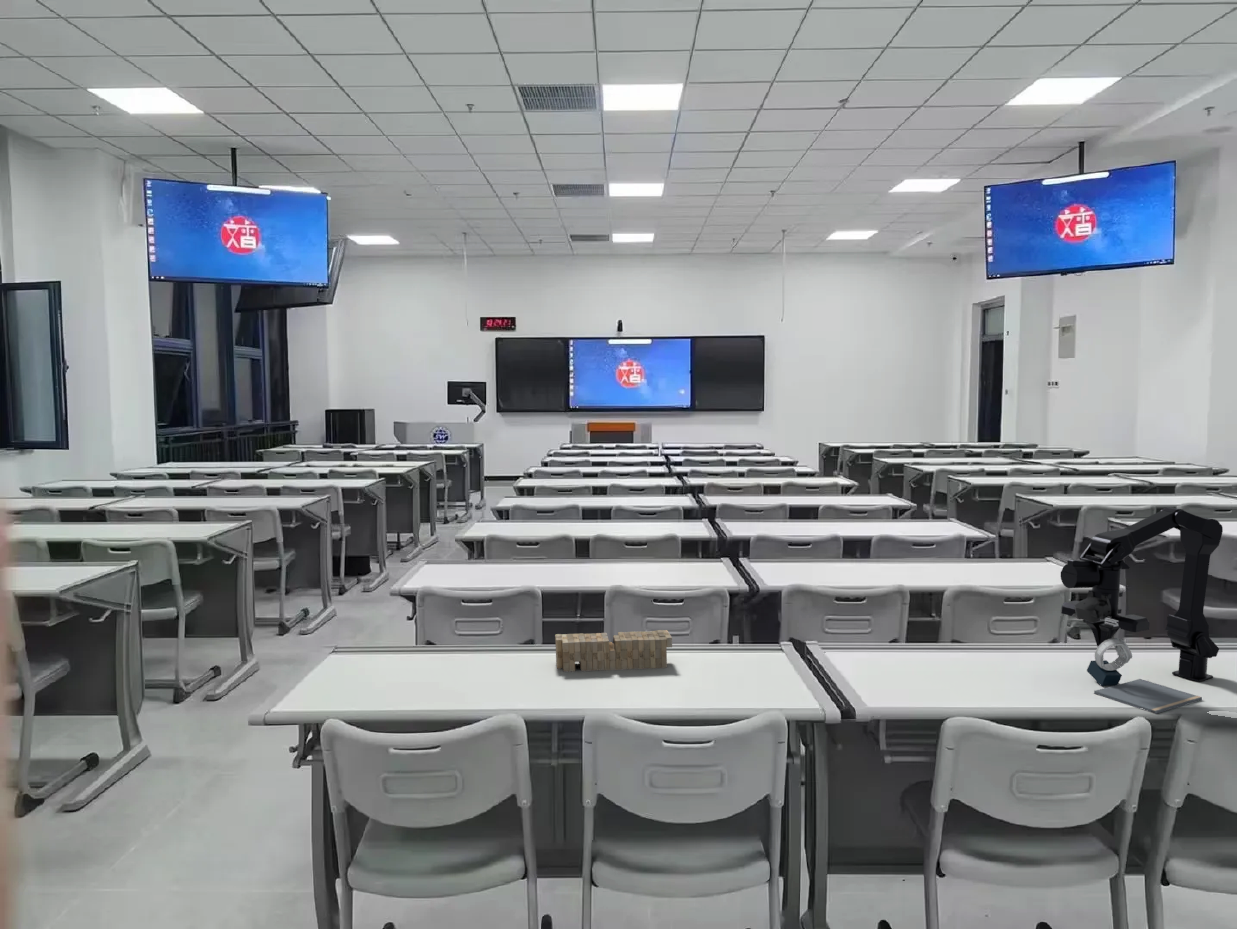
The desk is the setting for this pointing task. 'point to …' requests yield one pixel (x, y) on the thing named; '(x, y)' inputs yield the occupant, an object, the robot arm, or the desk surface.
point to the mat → (1148, 695)
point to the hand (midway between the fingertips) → (1101, 650)
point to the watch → (1105, 670)
